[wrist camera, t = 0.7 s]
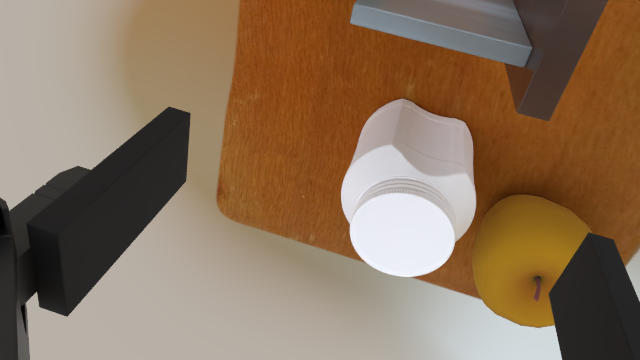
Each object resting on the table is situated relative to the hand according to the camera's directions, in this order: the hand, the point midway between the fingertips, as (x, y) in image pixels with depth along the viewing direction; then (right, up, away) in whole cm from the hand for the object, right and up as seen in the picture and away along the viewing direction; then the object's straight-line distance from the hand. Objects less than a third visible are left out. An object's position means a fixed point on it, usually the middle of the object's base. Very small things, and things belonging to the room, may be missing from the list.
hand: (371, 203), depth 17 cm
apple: (+20, -3, +37) cm, 42 cm away
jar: (+8, +4, +36) cm, 37 cm away
